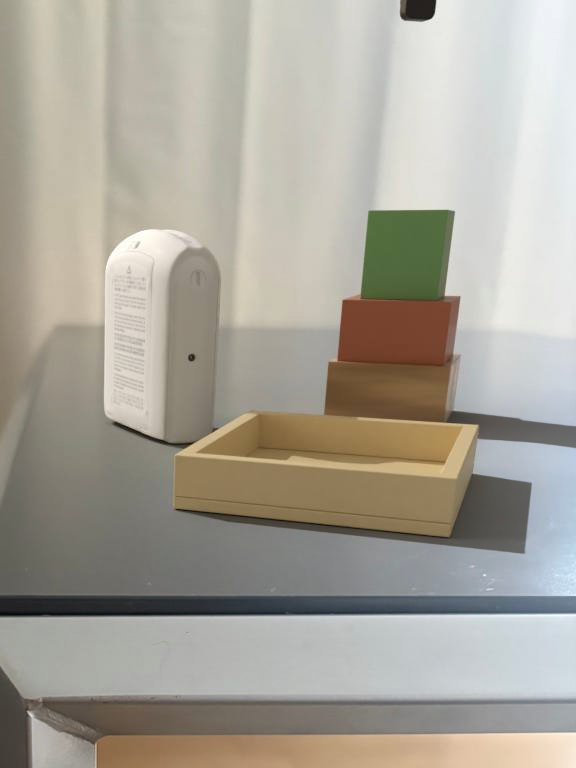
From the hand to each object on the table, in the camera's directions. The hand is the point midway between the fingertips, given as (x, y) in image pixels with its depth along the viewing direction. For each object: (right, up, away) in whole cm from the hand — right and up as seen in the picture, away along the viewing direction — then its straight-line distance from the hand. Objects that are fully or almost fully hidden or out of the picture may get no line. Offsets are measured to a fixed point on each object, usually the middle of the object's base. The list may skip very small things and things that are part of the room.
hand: (456, 6), depth 61 cm
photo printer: (-18, -25, +5) cm, 31 cm away
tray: (-10, -31, -10) cm, 34 cm away
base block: (-1, -23, +11) cm, 25 cm away
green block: (-1, -15, +8) cm, 17 cm away
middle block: (-1, -19, +9) cm, 21 cm away
